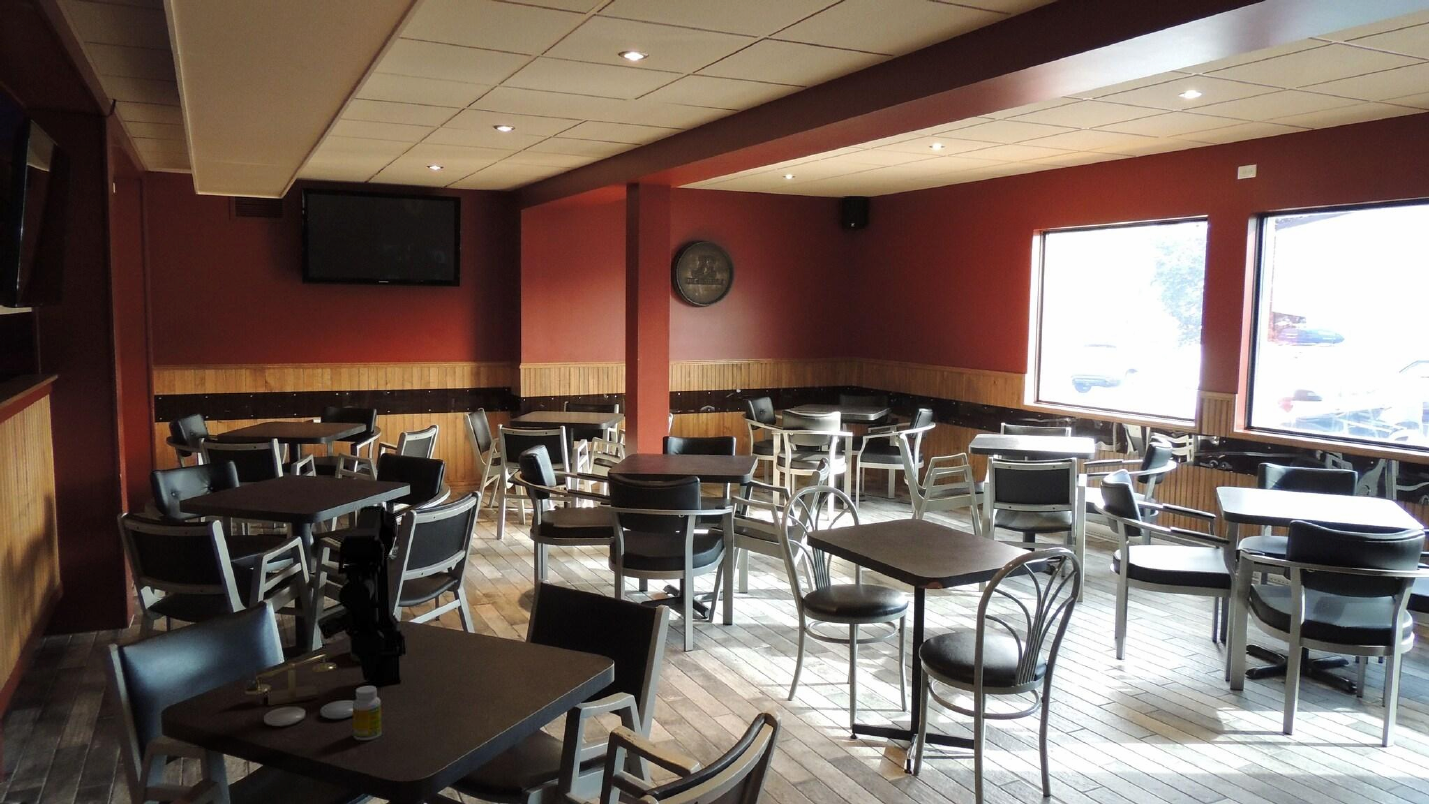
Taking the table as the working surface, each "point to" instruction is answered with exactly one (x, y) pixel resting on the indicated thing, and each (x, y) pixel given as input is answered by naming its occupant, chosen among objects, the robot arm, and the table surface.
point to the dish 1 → (284, 716)
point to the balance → (293, 692)
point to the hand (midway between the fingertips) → (364, 672)
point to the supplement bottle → (366, 714)
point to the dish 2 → (338, 709)
